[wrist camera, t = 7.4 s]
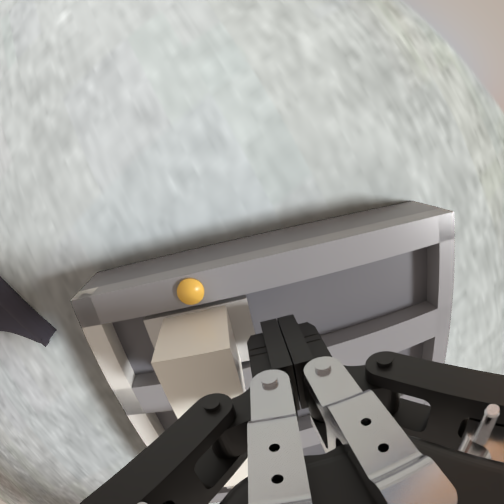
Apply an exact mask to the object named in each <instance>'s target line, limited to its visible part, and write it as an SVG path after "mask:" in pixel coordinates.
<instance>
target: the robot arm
mask: <svg viewBox="0 0 504 504" xmlns="http://www.w3.org/2000/svg"><path fill="white" fill-rule="evenodd" d="M260 325H261V329H262V333H259V334H255V335H251V336H250V338H249V339H248V341H247V347H248V354H249V360H250V367H251V373H252V380H251V382H250V387H249V389H248V390H247V391H245V392H244V393H242V394H241V395H239V396H236V397H234V398H232V399H231V398H230V397H229V396H227V395H225V394H222V393H213V394H209V395H206V396H204V397H202V398H200V399H199V400H198V401H197V402H196V403H195V404H193V405H192V406H191V407H190V408H189V409H188V410H187V411H186V412H185V413H184V414H183V415H182V416H181V417H180V418H179V419H178V420H176V421H175V422H174V423H173V424H172V425H171V426H170V427H169V428H168V429H167V430H166V431H164V432H163V433H162V434H161V435H160V436H159V437H158V438H157V439H156V440H154V441H153V442H152V443H151V444H150V445H149V446H148V447H147V448H145V449H144V450H143V451H142V452H141V453H140V454H139V455H137V456H136V457H135V458H134V459H133V460H132V461H131V462H129V463H128V464H127V465H126V466H125V467H123V468H122V469H121V470H120V471H119V472H118V473H116V474H115V475H114V476H113V477H112V478H110V479H109V480H108V481H107V482H105V483H104V484H103V485H102V486H101V487H99V488H98V489H97V490H96V491H94V492H93V493H92V494H91V495H89V496H88V497H87V498H85V499H84V500H83V501H82V502H81V503H80V504H208V503H209V502H210V501H211V500H212V499H213V498H214V497H215V496H216V494H217V493H218V492H219V491H220V490H221V489H222V488H223V487H224V485H225V484H226V483H227V482H228V481H229V480H230V478H231V477H232V476H233V475H234V474H235V472H236V471H237V470H238V469H239V468H240V466H241V465H242V464H243V463H244V461H245V460H246V459H247V458H248V477H246V478H245V479H243V480H241V481H240V482H239V483H238V484H236V485H235V486H234V487H233V488H232V489H231V490H230V491H229V492H228V494H227V495H226V496H225V497H224V499H223V500H222V501H221V502H220V504H504V375H500V374H494V373H489V372H483V371H478V370H473V369H468V368H463V367H458V366H453V365H448V364H444V363H439V362H434V361H430V360H425V359H421V358H417V357H412V356H408V355H404V354H400V353H395V352H391V351H382V352H377V353H375V354H373V355H371V356H370V357H369V358H368V359H367V360H366V363H365V365H360V366H345V365H343V364H342V363H341V362H340V361H339V360H338V359H336V358H334V357H332V356H331V354H330V352H329V350H328V348H327V347H326V345H325V343H324V341H323V339H322V338H321V336H320V334H319V332H318V331H317V329H316V327H315V326H314V325H312V324H310V323H308V322H305V323H301V324H298V323H297V321H296V319H295V317H294V315H293V314H291V315H287V316H283V317H279V318H277V319H276V318H275V319H271V320H266V321H262V322H260ZM401 394H405V395H408V396H412V397H415V398H419V399H423V400H425V401H427V402H428V403H429V404H430V406H428V405H424V404H421V403H417V402H413V401H410V400H406V399H403V398H400V395H401ZM299 403H300V405H299ZM300 406H301V409H305V408H308V409H309V412H310V419H311V423H312V425H313V428H314V430H315V432H316V434H317V436H318V438H319V440H320V442H321V444H322V446H323V449H324V451H325V454H321V455H307V456H304V454H303V449H302V443H301V438H300V432H299V427H298V420H299V418H298V413H297V410H300Z"/></svg>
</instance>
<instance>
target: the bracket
mask: <svg viewBox="0 0 504 504" xmlns="http://www.w3.org/2000/svg"><path fill="white" fill-rule="evenodd" d="M0 331H6V332H11V333H15V334H18V335H21V336H24V337H26V338H29V339H31V340H34V341H36V342H38V343H42V344H43V345H44V346H45V347H46V346H47V345H48V343H49V341H50V340H49V339H50V338H51V336H52V335H53V334H54V332H55V331H56V329H55V328H54V327H53V326H52V325H51V324H49V323H48V322H47V321H46V320H45V319H44V318H43V317H42V316H40V315H39V314H38V313H37V312H36V311H35V310H34V309H33V308H32V307H31V306H29V305H28V304H27V303H26V302H25V301H24V300H23V299H22V298H21V297H20V296H19V295H18V294H17V293H16V292H15V291H14V290H13V289H12V288H11V287H10V286H9V285H8V284H7V283H6V282H5V281H4V280H3V279H2V278H1V277H0Z"/></svg>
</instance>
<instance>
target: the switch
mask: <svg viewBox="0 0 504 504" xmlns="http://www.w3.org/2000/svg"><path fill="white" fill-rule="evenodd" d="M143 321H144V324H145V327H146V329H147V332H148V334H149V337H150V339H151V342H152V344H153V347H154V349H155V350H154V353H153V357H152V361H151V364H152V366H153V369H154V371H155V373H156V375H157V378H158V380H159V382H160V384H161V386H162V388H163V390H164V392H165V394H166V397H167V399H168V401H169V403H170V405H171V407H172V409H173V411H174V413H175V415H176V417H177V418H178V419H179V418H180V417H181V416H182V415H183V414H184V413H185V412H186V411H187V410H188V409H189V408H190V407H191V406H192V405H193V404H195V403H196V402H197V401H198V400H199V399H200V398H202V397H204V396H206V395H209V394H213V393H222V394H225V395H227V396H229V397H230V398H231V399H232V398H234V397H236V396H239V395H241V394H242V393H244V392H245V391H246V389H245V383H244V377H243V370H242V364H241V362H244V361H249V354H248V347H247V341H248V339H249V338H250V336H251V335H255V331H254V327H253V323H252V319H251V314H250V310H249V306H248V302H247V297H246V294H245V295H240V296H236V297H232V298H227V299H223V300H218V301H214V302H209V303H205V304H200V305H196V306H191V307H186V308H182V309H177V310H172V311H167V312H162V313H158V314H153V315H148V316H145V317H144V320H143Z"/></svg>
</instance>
